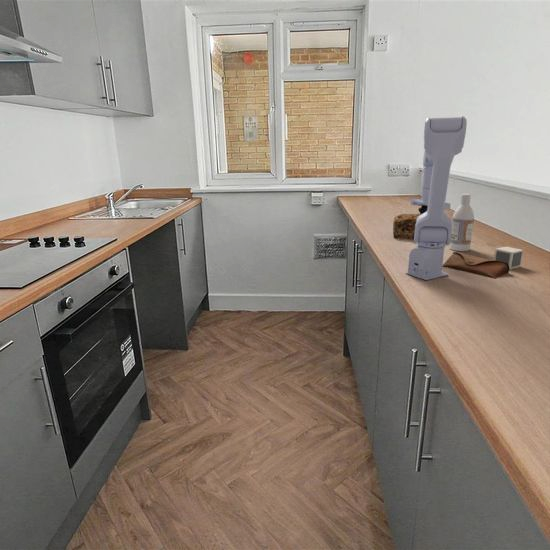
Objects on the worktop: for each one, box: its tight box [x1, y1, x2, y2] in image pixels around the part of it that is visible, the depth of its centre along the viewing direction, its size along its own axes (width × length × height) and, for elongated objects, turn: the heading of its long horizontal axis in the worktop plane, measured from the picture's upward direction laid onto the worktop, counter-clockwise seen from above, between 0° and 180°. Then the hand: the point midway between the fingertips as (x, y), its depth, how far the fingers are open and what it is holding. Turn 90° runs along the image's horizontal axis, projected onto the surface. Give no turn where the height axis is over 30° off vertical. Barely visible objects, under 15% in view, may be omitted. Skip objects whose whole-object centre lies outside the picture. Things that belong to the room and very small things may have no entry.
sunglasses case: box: [442, 251, 510, 279], centre depth 126 cm, size 18×7×7 cm
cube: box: [493, 246, 524, 270], centre depth 128 cm, size 6×6×6 cm
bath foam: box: [448, 193, 475, 252], centre depth 147 cm, size 7×7×20 cm
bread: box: [392, 213, 421, 240], centre depth 169 cm, size 19×11×10 cm, turn 67°
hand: (427, 228), depth 137 cm, fingers closed
